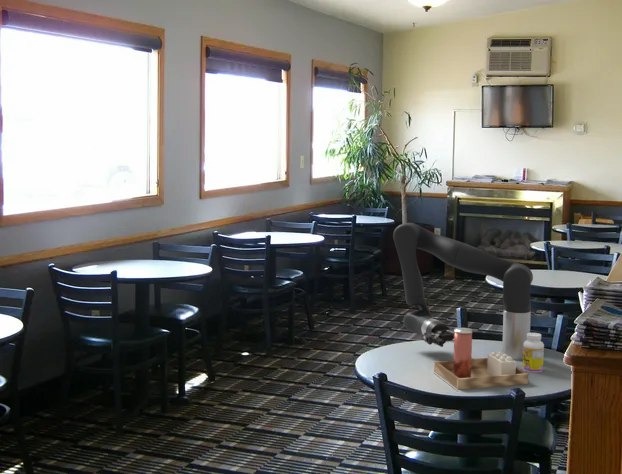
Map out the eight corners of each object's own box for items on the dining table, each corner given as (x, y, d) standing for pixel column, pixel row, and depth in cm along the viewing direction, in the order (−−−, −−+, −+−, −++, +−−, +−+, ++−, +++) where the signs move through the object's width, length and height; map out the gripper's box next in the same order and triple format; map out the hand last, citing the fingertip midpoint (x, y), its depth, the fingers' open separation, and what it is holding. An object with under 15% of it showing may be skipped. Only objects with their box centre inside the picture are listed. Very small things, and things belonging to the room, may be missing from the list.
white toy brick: (501, 370, 268) (501, 349, 267) (515, 379, 259) (516, 357, 258) (487, 371, 267) (487, 350, 266) (500, 380, 257) (501, 358, 256)
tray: (499, 368, 273) (499, 357, 273) (527, 386, 254) (528, 373, 254) (433, 373, 268) (434, 361, 267) (457, 391, 249) (458, 379, 249)
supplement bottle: (519, 369, 273) (520, 331, 271) (538, 368, 273) (540, 331, 272) (526, 375, 266) (527, 337, 265) (546, 374, 267) (547, 336, 265)
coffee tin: (466, 375, 263) (467, 327, 261) (474, 380, 258) (475, 331, 256) (450, 376, 262) (451, 328, 260) (457, 381, 256) (458, 332, 254)
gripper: (416, 321, 279) (434, 333, 263) (454, 319, 282) (474, 330, 267) (416, 343, 280) (434, 355, 264) (454, 340, 283) (474, 352, 268)
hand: (454, 342), depth 265 cm, fingers open, 8 cm apart
